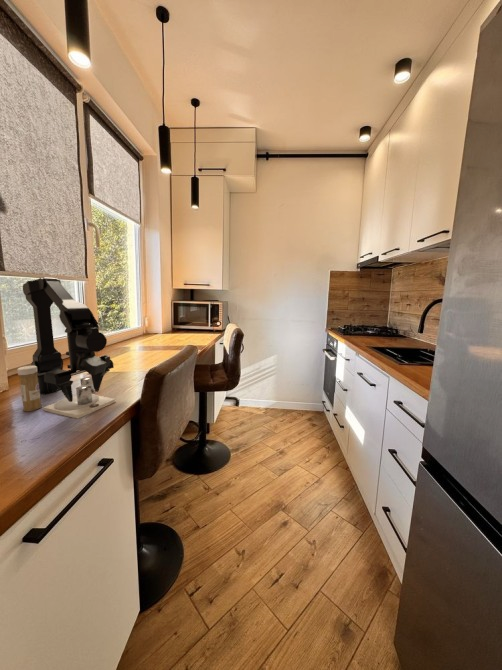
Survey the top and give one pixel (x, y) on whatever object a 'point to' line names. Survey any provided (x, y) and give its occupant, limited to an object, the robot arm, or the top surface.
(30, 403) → the sprinkles bottle
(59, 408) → the scale
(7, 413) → the top surface
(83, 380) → the cylinder
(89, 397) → the cylinder
